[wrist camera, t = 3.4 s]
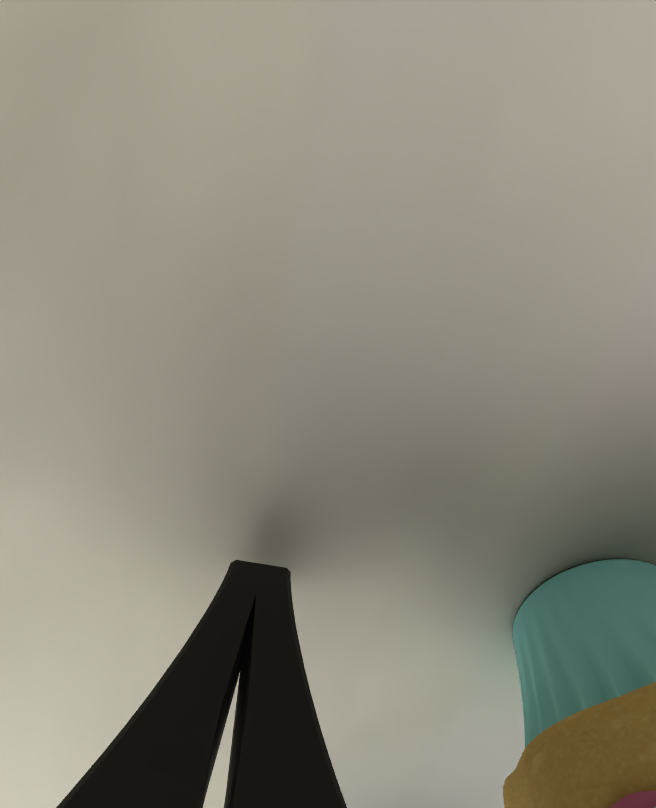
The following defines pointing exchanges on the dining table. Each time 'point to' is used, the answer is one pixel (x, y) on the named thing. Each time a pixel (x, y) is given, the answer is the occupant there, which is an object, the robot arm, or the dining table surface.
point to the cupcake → (588, 689)
